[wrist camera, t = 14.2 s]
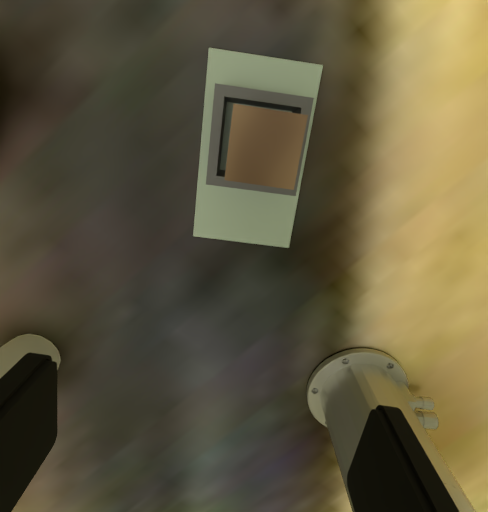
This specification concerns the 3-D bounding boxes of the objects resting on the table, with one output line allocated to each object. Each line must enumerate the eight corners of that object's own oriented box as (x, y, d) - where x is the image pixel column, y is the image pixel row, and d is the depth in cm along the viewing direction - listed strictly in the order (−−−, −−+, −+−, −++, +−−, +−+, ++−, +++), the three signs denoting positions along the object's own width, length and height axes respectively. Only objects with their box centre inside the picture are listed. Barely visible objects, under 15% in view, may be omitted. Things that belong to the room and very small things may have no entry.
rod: (279, 121, 31) (308, 115, 18) (272, 166, 33) (293, 189, 19) (236, 115, 31) (233, 103, 18) (230, 160, 32) (224, 180, 19)
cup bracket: (319, 67, 31) (338, 52, 25) (287, 244, 37) (296, 265, 31) (210, 50, 30) (202, 31, 24) (194, 232, 36) (185, 252, 30)
